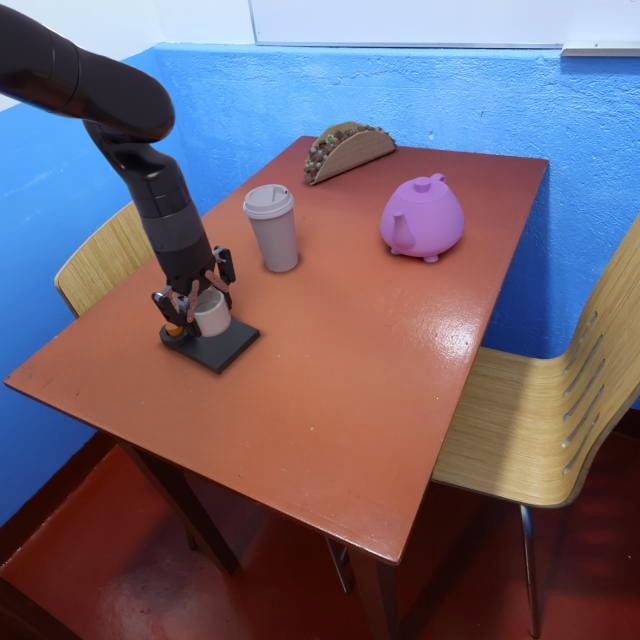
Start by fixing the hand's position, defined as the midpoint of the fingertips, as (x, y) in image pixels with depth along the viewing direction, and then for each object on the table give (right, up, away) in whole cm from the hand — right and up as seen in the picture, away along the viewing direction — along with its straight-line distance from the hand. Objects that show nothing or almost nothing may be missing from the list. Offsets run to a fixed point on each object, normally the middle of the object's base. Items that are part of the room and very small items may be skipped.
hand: (211, 321), depth 75 cm
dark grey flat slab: (-1, -3, +5) cm, 6 cm away
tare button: (-7, -2, +4) cm, 8 cm away
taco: (+26, +40, +46) cm, 66 cm away
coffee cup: (+10, +12, +19) cm, 24 cm away
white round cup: (0, 0, +1) cm, 1 cm away
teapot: (+37, +14, +16) cm, 43 cm away
